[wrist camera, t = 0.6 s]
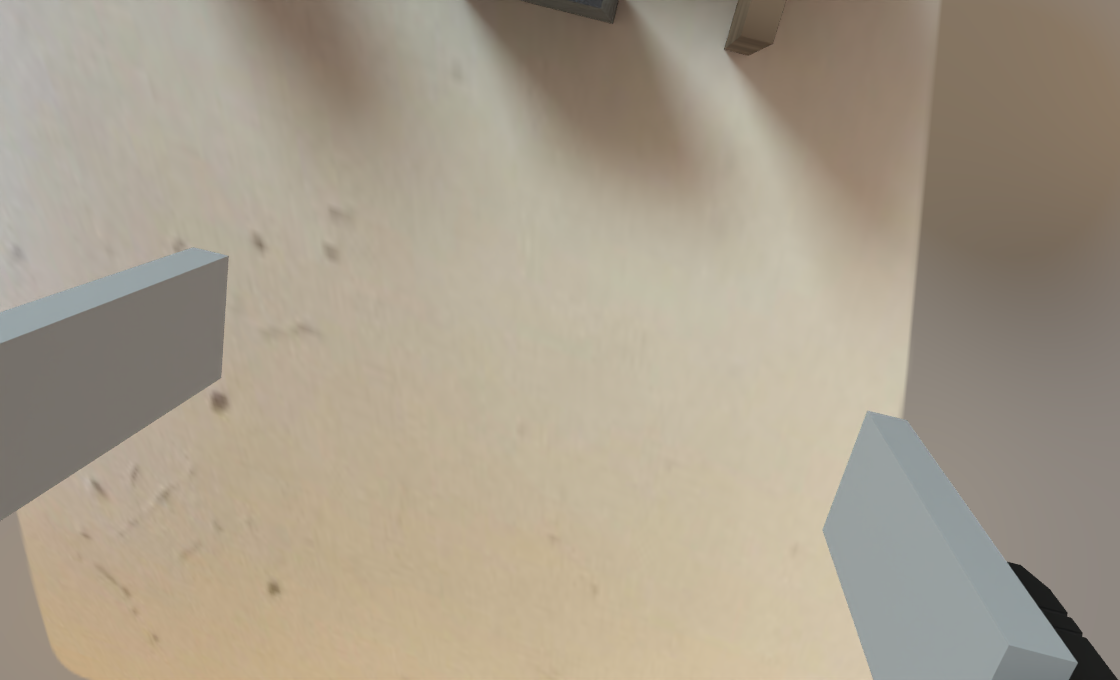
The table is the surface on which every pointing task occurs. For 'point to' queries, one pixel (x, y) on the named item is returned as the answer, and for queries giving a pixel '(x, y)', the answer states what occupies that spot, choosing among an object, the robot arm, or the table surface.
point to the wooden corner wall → (754, 25)
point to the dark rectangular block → (583, 7)
